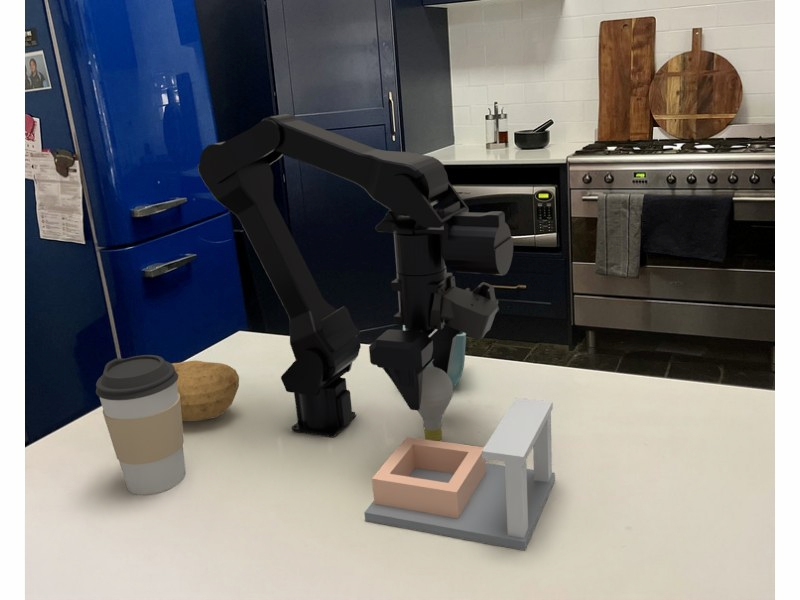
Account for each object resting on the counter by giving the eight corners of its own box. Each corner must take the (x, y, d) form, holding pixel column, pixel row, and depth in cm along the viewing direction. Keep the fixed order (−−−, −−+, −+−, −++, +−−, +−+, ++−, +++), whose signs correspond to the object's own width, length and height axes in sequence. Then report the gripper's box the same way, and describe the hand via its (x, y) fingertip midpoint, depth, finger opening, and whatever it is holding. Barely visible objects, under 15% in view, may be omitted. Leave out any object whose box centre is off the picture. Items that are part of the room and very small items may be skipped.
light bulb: (453, 454, 92) (448, 377, 89) (408, 453, 93) (402, 377, 90) (458, 433, 97) (454, 359, 94) (416, 432, 98) (410, 359, 95)
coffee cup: (209, 463, 94) (190, 350, 90) (165, 504, 86) (142, 381, 82) (148, 456, 97) (126, 346, 93) (100, 495, 89) (73, 376, 85)
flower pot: (469, 394, 108) (466, 333, 105) (407, 398, 108) (402, 338, 105) (465, 369, 116) (462, 313, 113) (407, 373, 116) (402, 317, 114)
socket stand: (365, 520, 80) (356, 436, 77) (412, 459, 92) (406, 384, 89) (525, 550, 74) (522, 459, 71) (555, 480, 85) (553, 399, 82)
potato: (167, 401, 113) (157, 350, 111) (255, 404, 110) (247, 352, 108) (130, 432, 104) (119, 378, 102) (225, 436, 101) (216, 381, 99)
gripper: (461, 298, 77) (468, 437, 82) (511, 250, 93) (515, 369, 98) (361, 292, 81) (373, 424, 86) (426, 247, 98) (433, 361, 102)
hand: (429, 393), depth 93 cm, fingers open, 9 cm apart
